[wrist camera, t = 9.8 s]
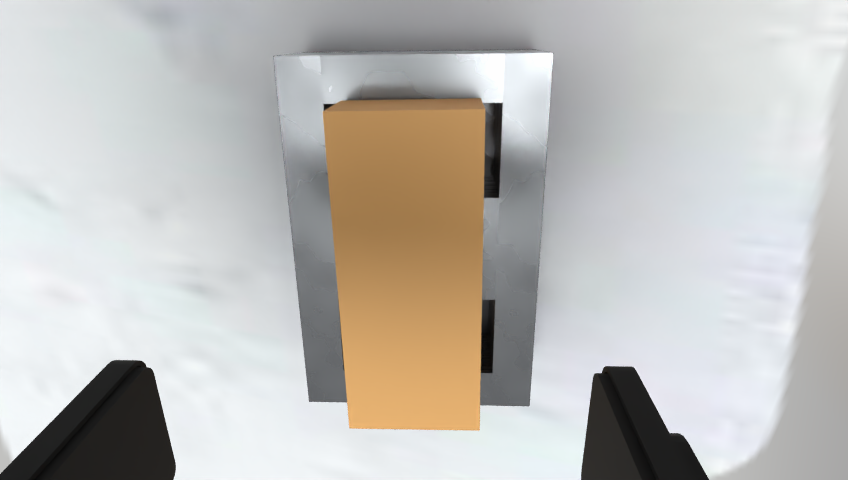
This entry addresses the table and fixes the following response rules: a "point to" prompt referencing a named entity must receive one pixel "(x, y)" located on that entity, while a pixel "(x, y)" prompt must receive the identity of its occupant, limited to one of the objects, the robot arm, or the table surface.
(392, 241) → the tan wooden arch block
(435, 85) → the grey slotted base
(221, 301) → the table surface
